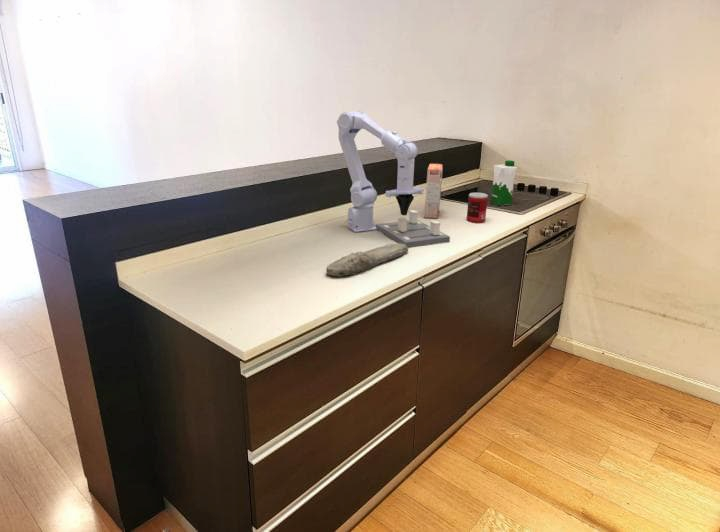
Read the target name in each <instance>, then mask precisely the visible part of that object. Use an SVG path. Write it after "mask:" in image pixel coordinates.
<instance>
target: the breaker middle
mask: <svg viewBox="0 0 720 532" xmlns="http://www.w3.org/2000/svg"><path fill="white" fill-rule="evenodd" d="M407 221H408V219H407V218H405V217H398V218H397V222H398V230H400V231H401V232H404V231H407Z"/></svg>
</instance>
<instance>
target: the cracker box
mask: <svg viewBox="0 0 720 532" xmlns="http://www.w3.org/2000/svg"><path fill="white" fill-rule="evenodd" d="M442 181H443V164H441V163H429V165H428V167H427V173H426V186H425V188H426V189H425V201H424V202H425V203H424V216H423V218H424V219H434V220H435V219H438V217H439V212H440V204H441V192H442Z"/></svg>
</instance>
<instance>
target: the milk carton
mask: <svg viewBox="0 0 720 532" xmlns="http://www.w3.org/2000/svg"><path fill="white" fill-rule="evenodd" d="M517 171H518V166H516V165H515V161H514V160H505V162H504V163H503V164H494V165H493V180H492V191H491V199H490V204H492V203H494V204H497V205H504V204H512V205H513V192H514V186H515V178H516V177H515V176H516V174H517ZM494 204H493V205H494ZM497 205H496V206H497Z"/></svg>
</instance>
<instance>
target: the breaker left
mask: <svg viewBox="0 0 720 532" xmlns="http://www.w3.org/2000/svg"><path fill="white" fill-rule="evenodd" d="M408 213H409V214H408V221H409V222H411V223H412V224H414V223H417V220H418V214H419V211H417V210H414V209H412V210H408Z"/></svg>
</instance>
